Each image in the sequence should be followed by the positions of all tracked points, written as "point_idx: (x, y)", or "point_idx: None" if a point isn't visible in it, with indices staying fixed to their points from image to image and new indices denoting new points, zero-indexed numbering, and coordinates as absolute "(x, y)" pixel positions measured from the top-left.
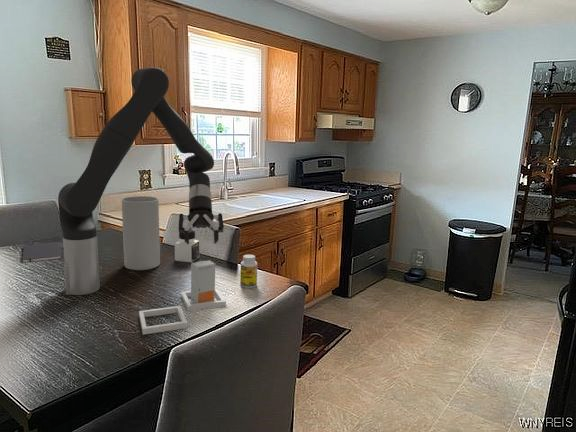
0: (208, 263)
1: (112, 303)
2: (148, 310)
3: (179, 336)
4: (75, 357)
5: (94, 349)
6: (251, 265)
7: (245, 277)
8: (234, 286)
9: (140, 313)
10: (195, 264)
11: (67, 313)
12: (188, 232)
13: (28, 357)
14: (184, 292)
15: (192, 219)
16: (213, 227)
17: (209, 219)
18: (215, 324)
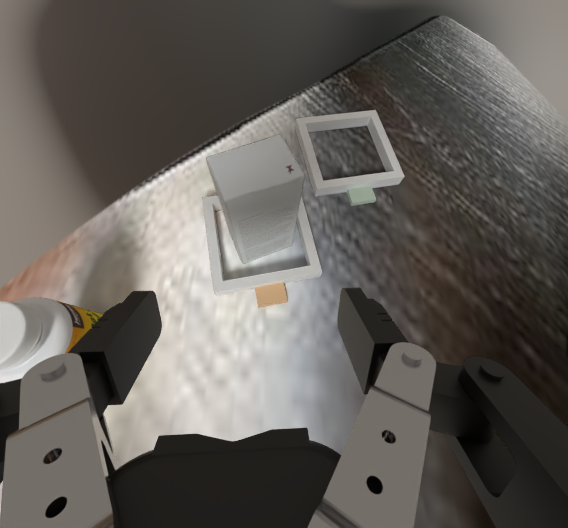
0: (233, 161)
1: (483, 256)
2: (384, 176)
3: (307, 105)
4: (448, 81)
5: (431, 94)
6: (28, 298)
7: (92, 312)
8: None
9: (398, 165)
10: (287, 154)
11: (552, 218)
12: (372, 334)
13: (512, 92)
14: (312, 267)
15: (405, 503)
16: (78, 385)
17: (29, 518)
18: (240, 131)
